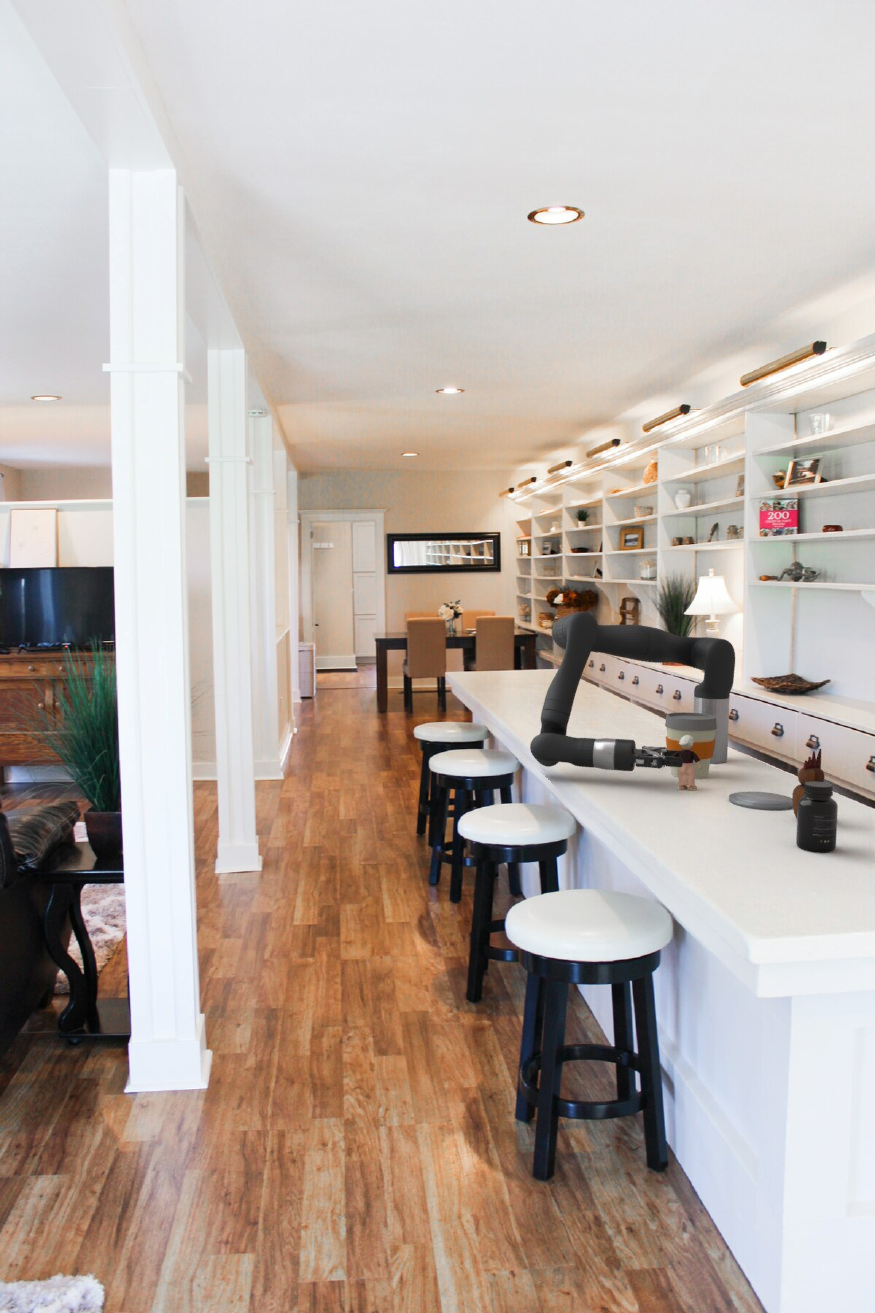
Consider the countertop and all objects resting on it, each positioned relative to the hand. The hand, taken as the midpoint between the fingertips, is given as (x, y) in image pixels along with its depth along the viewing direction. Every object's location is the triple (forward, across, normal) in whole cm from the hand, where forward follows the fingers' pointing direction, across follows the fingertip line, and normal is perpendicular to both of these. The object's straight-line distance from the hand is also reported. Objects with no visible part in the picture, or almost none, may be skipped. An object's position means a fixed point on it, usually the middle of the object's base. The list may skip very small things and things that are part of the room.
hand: (683, 759), depth 220 cm
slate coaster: (+18, -8, +7) cm, 20 cm away
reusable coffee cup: (0, +16, +7) cm, 17 cm away
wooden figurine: (+26, -22, +7) cm, 35 cm away
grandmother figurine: (0, 0, +7) cm, 7 cm away
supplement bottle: (+26, -42, +7) cm, 50 cm away
